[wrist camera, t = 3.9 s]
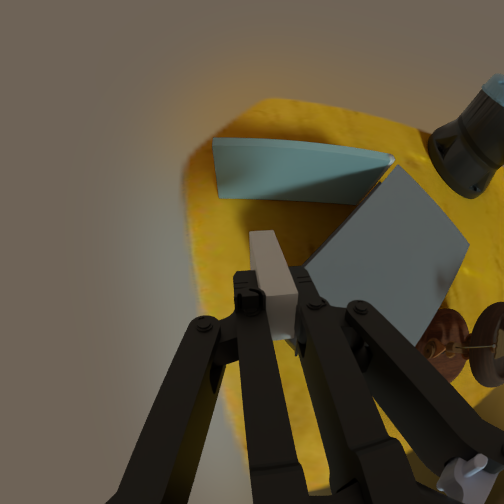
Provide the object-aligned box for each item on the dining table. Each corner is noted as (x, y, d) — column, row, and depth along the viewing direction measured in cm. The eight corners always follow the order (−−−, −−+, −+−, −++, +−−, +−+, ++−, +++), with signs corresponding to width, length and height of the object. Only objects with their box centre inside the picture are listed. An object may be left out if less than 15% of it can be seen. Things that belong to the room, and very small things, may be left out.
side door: (357, 191, 35) (390, 146, 25) (359, 205, 35) (395, 162, 24) (220, 183, 35) (214, 128, 24) (219, 198, 34) (212, 145, 24)
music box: (395, 399, 28) (515, 413, 9) (388, 320, 32) (505, 274, 13) (469, 370, 28) (569, 354, 10) (462, 304, 32) (558, 260, 14)
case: (358, 206, 35) (395, 162, 24) (417, 268, 33) (469, 244, 22) (254, 313, 30) (261, 304, 20) (327, 385, 28) (368, 406, 18)
